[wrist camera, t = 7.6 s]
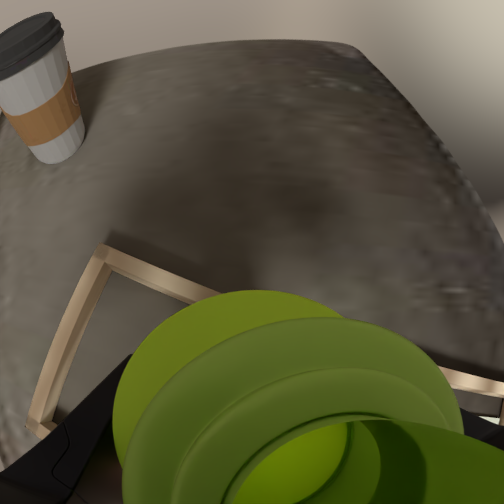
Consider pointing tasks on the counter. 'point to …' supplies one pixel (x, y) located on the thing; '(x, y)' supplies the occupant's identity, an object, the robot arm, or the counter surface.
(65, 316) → the frame
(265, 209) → the counter surface
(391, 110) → the counter surface
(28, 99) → the coffee cup
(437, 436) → the soap dispenser
